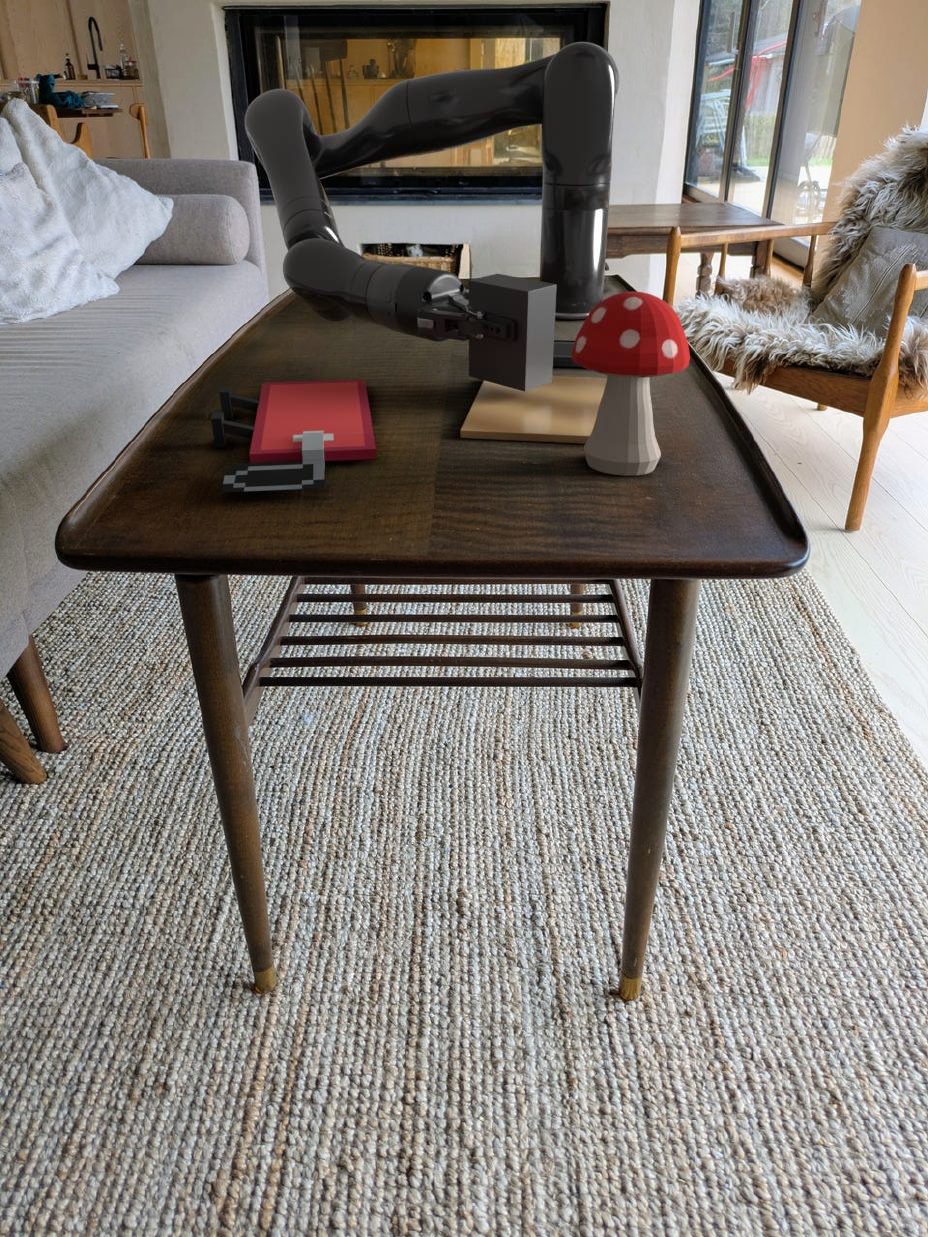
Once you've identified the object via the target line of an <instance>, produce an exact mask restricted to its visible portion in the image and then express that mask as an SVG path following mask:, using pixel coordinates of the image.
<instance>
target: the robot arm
mask: <svg viewBox="0 0 928 1237" xmlns="http://www.w3.org/2000/svg"><path fill="white" fill-rule="evenodd" d="M619 87H620V74H619V69H618V67H617V64H616V61H615V60H614V58H613V56H612V55H611V54H610V53H609V52H608V50H606V49H605V48H603V47H602V46H601V45H598V44H596V43H593V42H589V41H577V42H573V43H569V44H567V45H565V46H564V47H562V48H560V49H559V50H558V51H557V52H556V53H554V54H551V55H548V56H545V57H541V58H539V59H535V60H532V61H528V62H526V63H522V64H518V65H514V66H513V65H512V66H508V67H499V68H498V67H497V68H474V69H462V70H461V69H460V70H452V71H446V72H445V71H443V72H437V73H433V74H427V75H423V76H419V77H413V78H408V79H404V80H401V81H399V82H397V83H395V84H394V85H392V86H391V87H389V88H388V89H387V90H386V91H384V93H383V94H382V95H381V96H380V97H379V98H378V99H377V101H375V103H374V104H373V105H372V106H371V107H370V108H369V110H368V111H367V112H366V113H365V114H364V115H363V116H362V117H361V119H360V120H358V121H357V122H356V123H355V124H354V125H352V126H351V127H350V126H349V128H346V129H344V130H341V131H338V132H335V133H330V134H325V135H324V134H323V135H320V134H319V132H318V130H317V127H316V124H315V123H314V121H313V119H312V116H311V114H310V112H309V110H308V108H307V106H306V104H305V103H304V101H303V100H302V99H301V97H300V96H299V95H297V94H296V93H295V92H294V91H292V90H289V89H285V88H274V89H271V90H267V91H265V92H263V93H261V94H260V95H258V96H257V97H256V98H254V100H252V101H251V103H250V104H249V106H248V107H247V109H246V111H245V115H244V128H245V132H246V136H247V138H248V140H249V142H250V145H251V147H252V148H253V150H254V152H255V154H256V156H257V158H258V160H259V163H260V164H261V165H262V167H263V169H264V171H265V173H266V175H267V178H268V181H269V185H270V188H271V189H270V190H271V193H272V196H273V200H274V204H275V208H276V212H277V216H278V220H279V225H280V228H281V232H282V237H283V241H284V244H285V247H286V250H287V252H286V254H285V255H284V259H283V261H282V274H283V278H284V281H285V282H286V285H288V287H289V288H290V289H291V290H292V292H294V293H295V295H296V296H297V297H299V298H300V299H301V300H302V301H303V302H304V303H305V304H306V305H307V306H308V307H309V308H311V310H312V311H313V312H314V313H316V314H317V316H319V317H320V318H322V319H323V320H326V321H328V322H331V323H332V322H333V323H339V322H340V323H341V322H343V321H346V320H348V319H350V318H351V317H353V318H355V319H357V320H358V321H362V322H366V323H369V324H374V325H378V326H382V327H384V328H386V329H389V330H391V331H393V332H395V333H399V334H404V335H408V336H412V337H416V338H419V339H424V340H428V341H432V342H438V343H439V342H444V341H447V340H457V341H461V342H466V341H469V337H472V336H473V337H475V338H478V339H482V338H485V335H486V337H489V338H494V339H498V340H502V341H506V342H513V341H516V339H517V326H518V324H517V321H516V320H515V319H512V318H508V317H503V316H498V315H494V314H487V315H486V313H485V312H483V311H480V310H476V309H474V307H473V305H472V304H470V303H469V289H466V288H465V286H464V284H463V282H462V280H461V279H460V278H459V277H458V276H457V275H456V274H455V273H453V272H451V271H448V270H444V269H438V268H433V267H427V266H421V265H416V264H412V263H405V262H404V263H403V262H402V263H399V262H398V263H397V262H396V263H394V262H393V263H392V262H389V261H388V262H387V261H382V260H378V259H377V260H376V259H369V258H367V257H365V256H363V255H361V254H359V253H357V252H356V251H354V250H352V249H350V248H347V247H346V246H345V244H344V242H343V240H342V239H341V237H340V234H339V229H338V226H337V222H336V219H335V216H334V213H333V210H332V206H331V204H330V201H329V198H328V196H327V194H326V191H325V189H324V186H323V185H322V182H321V179H326V178H328V177H331V176H335V175H338V174H342V173H345V172H348V171H350V170H355V169H359V168H363V167H366V166H370V165H374V164H379V163H380V164H381V163H385V162H391V161H394V160H400V159H405V158H412V157H419V156H425V155H430V154H435V153H441V152H446V151H451V150H454V149H455V150H456V149H458V148H462V147H465V146H468V145H469V146H470V145H472V144H475V143H479V142H482V141H485V140H487V139H490V138H492V137H495V136H499V135H501V134H504V133H506V132H510V131H513V130H516V129H521V128H526V127H527V128H528V127H532V126H541V130H540V131H541V132H540V133H541V136H540V137H541V139H540V141H541V142H540V143H541V144H540V147H541V148H540V156H541V165H542V180H541V181H542V184H541V185H542V186H541V223H540V248H539V251H540V252H539V280H538V281H541V282H546V283H552V284H556V285H557V286H556V307H555V319H558V320H586V318H587V316H588V314H589V313H590V312H591V310H592V309H593V308H594V307H595V306H596V305H597V304H599V303H600V302H602V301H603V300H604V291H605V289H606V288H607V286H608V284H609V283H608V280H607V279H606V277H605V273H606V272H605V271H610V267H609V264H608V263H607V260H606V259H607V247H608V246H607V245H608V244H607V243H608V231H609V230H608V227H609V216H610V214H609V213H610V198H611V184H612V183H611V181H612V170H613V169H612V168H613V136H614V133H613V132H614V119H615V104H616V97H617V95H618V91H619Z"/></svg>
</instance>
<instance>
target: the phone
mask: <svg viewBox="0 0 928 1237" xmlns="http://www.w3.org/2000/svg"><path fill="white" fill-rule="evenodd" d="M574 343H575V340H571V339H569V340H567V339H554V350H553V367H573V368H583V367H582V366H580V365H577V364H576V363H575V362H574V361H573V360H572V350H573V346H574Z"/></svg>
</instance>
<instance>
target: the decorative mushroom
mask: <svg viewBox="0 0 928 1237" xmlns="http://www.w3.org/2000/svg"><path fill="white" fill-rule="evenodd" d="M574 341H575V343H574V346H573V350H572V360H573V361H574V362H575V363H576V364H577V365H580V366H582V367H581V368H584V369H587V370H589V371H591V372H594V373H597V374H602V375H605V376H606V378H607V381H606V385H605V390H604V393H603V396H602V399H601V402H600V405H599V409H598V413H597V417H596V421H595V424H594V427H593V430H592V433H591V435H590V437H589V438H588V440H587V442H586V444H584V446H583V453H584V456H585V460H586V463H587V465H588V467H589V468H591V469H592V470H595V471H597V472H601V473H604V474H610V475H615V476H640V475H641V476H642V475H646V474H650V473H652V472H653V471H654V470H656V467H657V464H658V463H659V461H660V458H661V457H662V453H661V449H660V447H659V446H660V445H659V443H658V441H657V438H656V434H655V427H654V415H653V404H652V398H651V386H650V378H654V377H655V378H657V377H662V376H667V375H672V374H675V373H679V372H681V371H684V370H686V368H688V367H689V365H690V360H691V355H690V348H689V341H688V338H687V335H686V333H685V330H684V328H683V324H682V322H681V319H680V317H679V315H678V313H677V312H676V311H675V309H674V308H673V307H672V306H671V305H670V304H669V303H668V302H666V301H665V300H663V299H662V298H660V297H658V296H656V295H653V294H651V293H648V292H644V291H643V292H642V291H634V290H633V291H623V292H619V293H616V294H612V295H610V296H609V297H607V298H604V299H603V301H602V302H600V303H599V304H597V305H596V306H595V307H594V308H593V309H592V310H591V312H590V313H589V314H588V316H587V318H586V319H584V322H583V323H582V326H581V327H580V328H579V331H578V333H577V334H576V338H575V340H574Z"/></svg>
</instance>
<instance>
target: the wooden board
mask: <svg viewBox="0 0 928 1237" xmlns="http://www.w3.org/2000/svg"><path fill="white" fill-rule="evenodd" d="M606 381H607V377H592V376H591V377H590V376H561V375H552V382H551V383H548V384H545V385H542V386H540V387H537V388H534V389H531V390H529V391H526V392H524V391H520V390H517V389H513V388H510V387H506V386H502V385H499V384H495V383H492V382H488V381H484V380H482V384H481V386H480V387H479V389H478V392H477V394H476V396H475V399H474V400H473V402H472V405H471V407H470V409H469V412H468V414H467V415H466V418H465V419H464V422H463V424H462V426H461V428H460V429H459V430H460V431H459V432H460V438H461V439H478V440H498V441H500V440H501V441H519V442H521V441H522V442H541V443H544V442H545V443H561V444H562V443H563V444H584V445H585V444H586V442H587V440H588V438H589V437H590V435H591V433H592V430H593V427H594V424H595V421H596V417H597V413H598V409H599V405H600V402H601V399H602V396H603V393H604V390H605V385H606Z"/></svg>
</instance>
